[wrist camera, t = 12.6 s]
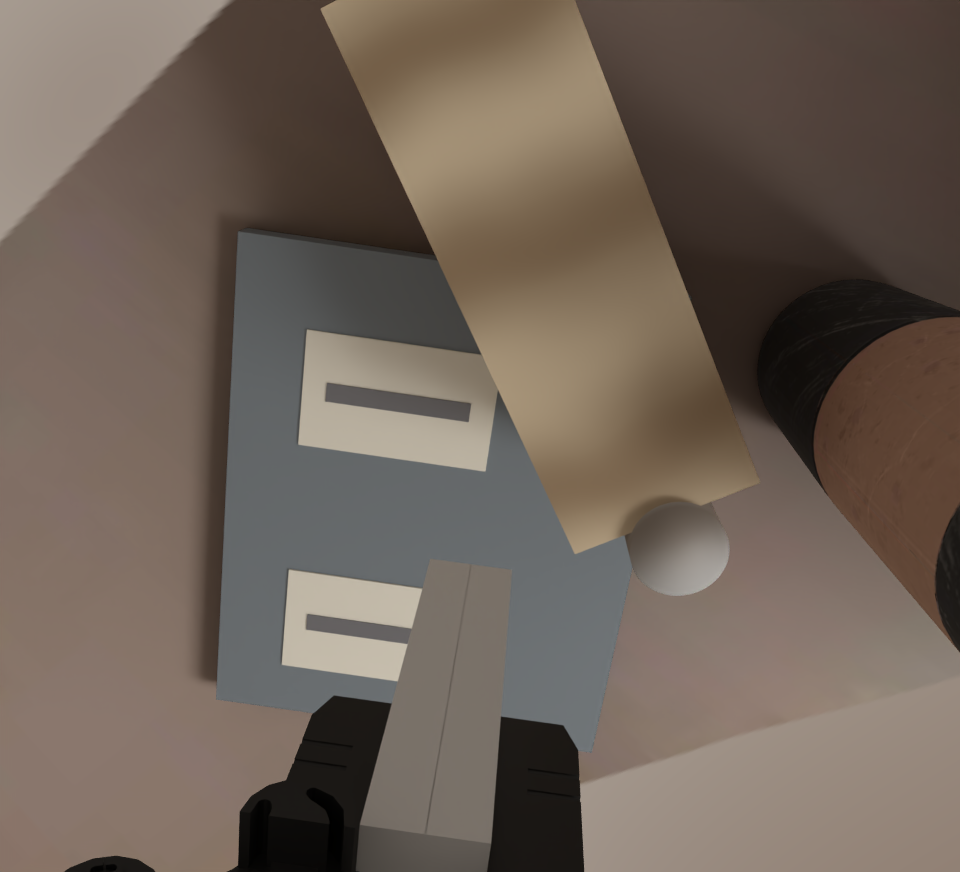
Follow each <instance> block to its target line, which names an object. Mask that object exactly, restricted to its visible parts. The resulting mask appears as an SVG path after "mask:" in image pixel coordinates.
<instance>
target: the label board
mask: <svg viewBox="0 0 960 872" xmlns="http://www.w3.org/2000/svg"><path fill="white" fill-rule="evenodd" d="M688 296H689V298H690V301H691V299H692V297H691V296H690V295H689V294H688ZM430 559H436V560H443V561H450V562H458V563H465V564H472V565H480V566H487V567H495V568H502V569H509V570H512V577H511V590H510V603H509V616H508V629H507V642H506V655H505V668H504V682H503V695H502V708H501V716H502V717H509V718H516V719H523V720H530V721H537V722H544V723H552V724H559V725H563V726H564V727H565V729H566V730H567V732H568V734H569V735H570V737H571V739H572V740H573V742H574V744H575V745H576V747H577V749H578V751H583V752H590V753H592V749H593V744H594V739H595V735H596V730H597V726H598V721H599V717H600V712H601V708H602V703H603V699H604V694H605V690H606V685H607V680H608V676H609V671H610V667H611V662H612V658H613V653H614V649H615V644H616V640H617V635H618V630H619V626H620V621H621V617H622V612H623V608H624V603H625V599H626V594H627V590H628V585H629V581H630V576H631V571H632V564H631V560H630V556H629V552H628V548H627V544H626V540H625V536H621V537H619V538H616V539H613V540H611V541H608V542H606V543H603V544H600V545H598V546H595V547H593V548H590V549H587V550H585V551H582V552H580V553H577V554H575V553H574V551H573V549H572V547H571V545H570V543H569V540H568V538H567V536H566V534H565V532H564V530H563V528H562V525H561V523H560V521H559V519H558V517H557V515H556V513H555V510H554V508H553V506H552V504H551V502H550V500H549V498H548V495H547V493H546V491H545V489H544V487H543V485H542V483H541V480H540V478H539V476H538V474H537V472H536V470H535V468H534V466H533V463H532V461H531V459H530V457H529V455H528V453H527V451H526V448H525V446H524V444H523V442H522V440H521V438H520V436H519V433H518V431H517V429H516V427H515V425H514V423H513V421H512V418H511V416H510V414H509V412H508V410H507V408H506V406H505V403H504V401H503V399H502V397H501V395H500V393H499V391H498V388H497V386H496V384H495V382H494V380H493V378H492V376H491V373H490V371H489V369H488V367H487V365H486V363H485V361H484V358H483V356H482V354H481V352H480V350H479V348H478V346H477V343H476V341H475V339H474V337H473V335H472V333H471V331H470V328H469V326H468V324H467V322H466V320H465V318H464V316H463V313H462V311H461V309H460V307H459V305H458V303H457V301H456V298H455V296H454V294H453V292H452V290H451V288H450V286H449V283H448V281H447V279H446V277H445V275H444V273H443V271H442V268H441V266H440V264H439V262H438V260H437V258H436V256H435V255H429V254H422V253H415V252H408V251H402V250H395V249H388V248H381V247H374V246H367V245H361V244H354V243H347V242H340V241H333V240H326V239H319V238H313V237H306V236H299V235H292V234H285V233H278V232H272V231H265V230H258V229H251V228H245V229H243V230H240V231H238V242H237V263H236V285H235V306H234V328H233V349H232V370H231V392H230V413H229V435H228V456H227V478H226V499H225V520H224V542H223V563H222V585H221V606H220V628H219V649H218V670H217V692H216V699H217V700H224V701H231V702H238V703H245V704H252V705H259V706H267V707H274V708H281V709H288V710H295V711H302V712H309V713H314V712H316V711H317V710H318V709H319V708H320V707H321V706H322V705H323V704H325V703H326V702H327V701H328V700H329V699H330V698H331V697H333V696H334V695H335V696H342V697H350V698H357V699H364V700H371V701H378V702H385V703H392V701H393V697H394V694H395V690H396V686H397V682H398V679H399V675H400V671H401V667H402V664H403V660H404V656H405V652H406V648H407V645H408V641H409V637H410V633H411V630H412V626H413V622H414V618H415V614H416V611H417V607H418V603H419V599H420V596H421V592H422V588H423V584H424V581H425V577H426V573H427V569H428V565H429V562H430Z"/></svg>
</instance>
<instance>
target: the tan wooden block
mask: <svg viewBox="0 0 960 872" xmlns="http://www.w3.org/2000/svg"><path fill="white" fill-rule="evenodd" d="M321 11H322V14H323V16H324V18H325V20H326V22H327V24H328V26H329V29H330V31H331V33H332V35H333V37H334V39H335V41H336V44H337V46H338V48H339V50H340V52H341V54H342V56H343V58H344V61H345V63H346V65H347V67H348V69H349V71H350V73H351V76H352V78H353V80H354V82H355V84H356V86H357V88H358V91H359V93H360V95H361V97H362V99H363V101H364V103H365V106H366V108H367V110H368V112H369V114H370V116H371V118H372V121H373V123H374V125H375V127H376V129H377V131H378V133H379V136H380V138H381V140H382V142H383V144H384V146H385V148H386V151H387V153H388V155H389V157H390V159H391V161H392V163H393V166H394V168H395V170H396V172H397V174H398V176H399V178H400V181H401V183H402V185H403V187H404V189H405V191H406V193H407V196H408V198H409V200H410V202H411V204H412V206H413V208H414V211H415V213H416V215H417V217H418V219H419V221H420V223H421V226H422V228H423V230H424V232H425V234H426V236H427V238H428V241H429V243H430V245H431V247H432V249H433V251H434V253H435V256H436V258H437V260H438V262H439V264H440V266H441V268H442V271H443V273H444V275H445V277H446V279H447V281H448V283H449V286H450V288H451V290H452V292H453V294H454V296H455V298H456V301H457V303H458V305H459V307H460V309H461V311H462V313H463V316H464V318H465V320H466V322H467V324H468V326H469V328H470V331H471V333H472V335H473V337H474V339H475V341H476V343H477V346H478V348H479V350H480V352H481V354H482V356H483V358H484V361H485V363H486V365H487V367H488V369H489V371H490V373H491V376H492V378H493V380H494V382H495V384H496V386H497V388H498V391H499V393H500V395H501V397H502V399H503V401H504V403H505V406H506V408H507V410H508V412H509V414H510V416H511V418H512V421H513V423H514V425H515V427H516V429H517V431H518V433H519V436H520V438H521V440H522V442H523V444H524V446H525V448H526V451H527V453H528V455H529V457H530V459H531V461H532V463H533V466H534V468H535V470H536V472H537V474H538V476H539V478H540V480H541V483H542V485H543V487H544V489H545V491H546V493H547V495H548V498H549V500H550V502H551V504H552V506H553V508H554V510H555V513H556V515H557V517H558V519H559V521H560V523H561V525H562V528H563V530H564V532H565V534H566V536H567V538H568V540H569V543H570V545H571V547H572V549H573V551H574V553H575V554H577V553H580V552H582V551H585V550H587V549H590V548H593V547H595V546H598V545H600V544H603V543H606V542H608V541H611V540H613V539H616V538H619V537H621V536H625V540H626V544H627V548H628V552H629V556H630V560H631V564H632V567H633V570H634V572H635V574H636V575H637V577H638V578H639V579H640V580H641V581H642V582H643V583H644V584H645V585H646V586H647V587H649V588H651V589H652V590H654V591H656V592H659V593H662V594H666V595H672V596H682V595H689V594H693V593H696V592H699V591H701V590H703V589H705V588H706V587H708V586H709V585H711V584H712V583H713V582H714V581H715V580H717V579H718V577H719V576H720V575H721V574H722V572H723V570H724V569H725V567H726V564H727V562H728V558H729V540H728V537H727V534H726V532H725V530H724V528H723V526H722V524H721V522H720V520H719V518H718V516H717V514H716V512H715V510H714V508H713V506H712V504H711V502H712V501H715V500H717V499H720V498H723V497H725V496H728V495H730V494H733V493H736V492H738V491H741V490H743V489H746V488H749V487H751V486H754V485H756V484H759V483H760V480H759V478H758V475H757V473H756V470H755V467H754V465H753V462H752V460H751V457H750V454H749V452H748V449H747V447H746V444H745V441H744V439H743V436H742V434H741V431H740V428H739V426H738V423H737V421H736V418H735V415H734V413H733V410H732V408H731V405H730V402H729V400H728V397H727V395H726V392H725V389H724V387H723V384H722V382H721V379H720V376H719V374H718V371H717V369H716V366H715V363H714V361H713V358H712V356H711V353H710V350H709V348H708V345H707V343H706V340H705V337H704V335H703V332H702V330H701V327H700V324H699V322H698V319H697V317H696V314H695V311H694V309H693V306H692V304H691V301H690V298H689V296H688V293H687V291H686V288H685V285H684V283H683V280H682V278H681V275H680V272H679V270H678V267H677V265H676V262H675V259H674V257H673V254H672V252H671V249H670V246H669V244H668V241H667V239H666V236H665V233H664V231H663V228H662V225H661V223H660V220H659V218H658V215H657V212H656V210H655V207H654V205H653V202H652V199H651V197H650V194H649V192H648V189H647V186H646V184H645V181H644V179H643V176H642V173H641V171H640V168H639V166H638V163H637V160H636V158H635V155H634V153H633V150H632V147H631V145H630V142H629V140H628V137H627V134H626V132H625V129H624V127H623V124H622V121H621V119H620V116H619V114H618V111H617V108H616V106H615V103H614V101H613V98H612V95H611V93H610V90H609V88H608V85H607V82H606V80H605V77H604V75H603V72H602V69H601V67H600V64H599V62H598V59H597V56H596V54H595V51H594V49H593V46H592V43H591V41H590V38H589V36H588V33H587V30H586V28H585V25H584V23H583V20H582V17H581V15H580V12H579V10H578V7H577V4H576V2H575V0H336V1H334V2H332V3H330V4H328V5H326V6H325V7H323V8H321Z"/></svg>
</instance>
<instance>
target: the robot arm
mask: <svg viewBox="0 0 960 872" xmlns="http://www.w3.org/2000/svg"><path fill="white" fill-rule="evenodd" d="M511 577H512V570H509V569H502V568H495V567H487V566H480V565H472V564H465V563H458V562H450V561H443V560H436V559H430V562H429V565H428V569H427V573H426V577H425V581H424V584H423V588H422V592H421V596H420V599H419V603H418V607H417V611H416V614H415V618H414V622H413V626H412V630H411V633H410V637H409V641H408V645H407V648H406V652H405V656H404V660H403V664H402V667H401V671H400V675H399V679H398V682H397V686H396V690H395V694H394V697H393V701H392V703H385V702H378V701H371V700H364V699H357V698H350V697H342V696H335V695H334V696H333V697H331V698H330V699H329V700H328V701H327V702H326V703H325V704H323V705H322V706H321V707H320V708H319V709H318V710H317V711H316V712H314V713H313V714H312V716H311V719H310V721H309V724H308V726H307V729H306V731H305V734H304V737H303V740H302V744H300V747H299V749H298V752H297V754H296V757H295V761H294V764H292V767H291V769H290V772H289V774H288V777H287V780H285V781H282V782H278V783H275V784H271V785H268V786H266V787H265V788H263V789H262V790H260V791H259V792H257V793H255V794H254V795H252V796H251V797H250V798H249V800H248V801H247V802H246V804H245V805H244V807H243V808H242V809H241V811H240V823H239V856H238V866H237V867H235V868H234V869H232V870H230V871H228V872H584V858H583V839H582V820H581V819H582V818H581V802H580V780H579V759H578V749H577V747H576V745H575V744H574V742H573V740H572V739H571V737H570V735H569V734H568V732H567V730H566V729H565V727H564V726H563V725H559V724H552V723H544V722H537V721H530V720H523V719H516V718H509V717H502V716H501V708H502V695H503V682H504V668H505V655H506V642H507V629H508V616H509V603H510V590H511ZM65 872H155V871H154V869H152V868H150V867H149V866H147V865H146V864H144V863H143V862H141V861H139V860H137V859H132V858H126V857H121V856H111V857H102V858H94V859H91V860H88V861H86V862H83V863H81V864H78V865H76V866H73V867H71V868H69V869H67V870H66V871H65Z"/></svg>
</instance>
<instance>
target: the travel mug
mask: <svg viewBox="0 0 960 872" xmlns="http://www.w3.org/2000/svg"><path fill="white" fill-rule="evenodd" d="M757 375H758V385H759V389H760V393H761V397H762V399H763V402H764V404H765V406H766V408H767V410H768V411H769V413H770V415H771V417H772V418H773V420H774V421H775V423H776V424H777V426H778V427H779V428H780V430H781V431H782V433H783V434H784V435H785V437H786V438H787V440H788V441H789V442H790V444H791V445H792V447H793V448H794V449H795V451H796V452H797V454H798V455H799V456H800V458H801V459H802V461H803V462H804V463H805V465H806V466H807V468H808V469H809V470H810V472H811V473H812V474H813V476H814V477H815V479H816V480H817V481H818V483H819V484H820V486H821V487H822V488H823V490H824V491H825V493H826V494H827V495H828V496H829V498H830V499H831V500H832V502H833V503H834V504H835V505H836V507H837V508H838V509H839V510H840V512H841V513H842V514H843V515H844V516H845V517H846V519H847V520H848V521H849V522H850V523H851V525H852V526H853V527H854V528H855V529H856V530H857V532H858V533H859V534H860V535H861V536H862V538H863V539H864V540H865V541H866V542H867V543H868V545H869V546H870V547H871V548H872V549H873V551H874V552H875V553H876V554H877V555H878V556H879V558H880V559H881V560H882V561H883V562H884V563H885V565H886V566H887V567H888V568H889V569H890V571H891V572H892V573H893V574H894V575H895V576H896V578H897V579H898V580H899V581H900V582H901V584H902V585H903V586H904V587H905V588H906V589H907V591H908V592H909V593H910V594H911V595H912V597H913V598H914V599H915V600H916V601H917V602H918V604H919V605H920V606H921V607H922V608H923V610H924V611H925V612H926V613H927V614H928V615H929V617H930V618H931V619H932V620H933V621H934V622H935V624H936V625H937V626H938V627H939V628H940V630H941V631H942V632H943V633H944V634H945V635H946V637H947V638H948V639H949V640H950V641H951V643H952V644H953V645H954V646H955V647H956V648H957V650H958V651H959V652H960V311H958V310H955V309H953V308H950V307H947V306H944V305H942V304H939V303H936V302H934V301H931V300H928V299H925V298H923V297H920V296H917V295H914V294H912V293H909V292H906V291H903V290H901V289H898V288H895V287H892V286H889V285H886V284H882V283H878V282H873V281H869V280H843V281H838V282H833V283H829V284H826V285H823V286H820V287H818V288H816V289H813V290H811V291H809V292H807V293H806V294H804V295H802V296H801V297H799V298H798V299H797V300H795V301H794V302H793V303H791V304H790V305H789V306H788V307H787V308H786V309H785V310H784V311H783V312H782V313H781V314H780V315H779V316H778V318H777V319H776V320H775V321H774V323H773V325H772V326H771V328H770V329H769V331H768V333H767V335H766V337H765V339H764V341H763V344H762V348H761V351H760V355H759V360H758V374H757Z"/></svg>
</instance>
